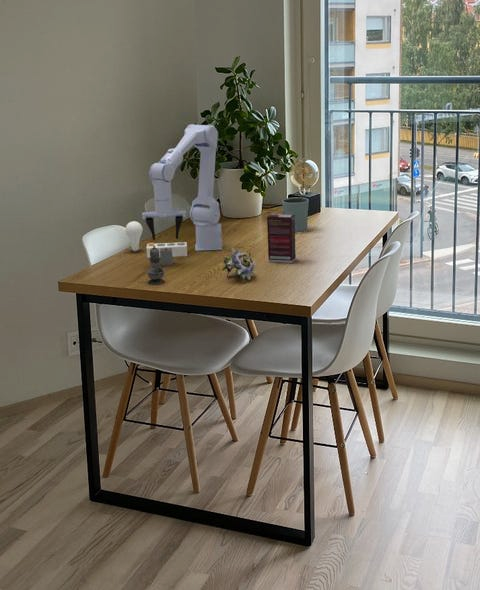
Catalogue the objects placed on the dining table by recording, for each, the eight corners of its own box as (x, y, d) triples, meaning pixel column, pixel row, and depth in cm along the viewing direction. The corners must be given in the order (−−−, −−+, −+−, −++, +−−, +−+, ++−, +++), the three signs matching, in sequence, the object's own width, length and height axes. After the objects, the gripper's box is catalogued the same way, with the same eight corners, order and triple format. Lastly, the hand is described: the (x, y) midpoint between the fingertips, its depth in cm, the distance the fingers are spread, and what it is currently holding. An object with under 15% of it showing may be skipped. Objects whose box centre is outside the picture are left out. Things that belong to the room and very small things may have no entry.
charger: (172, 260, 308) (171, 245, 306) (172, 264, 302) (171, 249, 301) (161, 261, 307) (160, 246, 306) (160, 265, 302) (159, 250, 301)
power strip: (187, 251, 319) (186, 240, 317) (187, 256, 313) (186, 244, 312) (147, 253, 318) (147, 241, 317) (147, 257, 312) (146, 246, 311)
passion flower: (248, 296, 285) (244, 273, 275) (217, 287, 288) (212, 264, 278) (261, 269, 290) (258, 246, 281) (231, 261, 294) (227, 237, 284)
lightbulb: (141, 253, 318) (139, 223, 315) (124, 253, 319) (122, 223, 316) (146, 249, 324) (144, 219, 320) (130, 249, 325) (127, 219, 322)
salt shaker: (147, 279, 286) (144, 243, 283) (165, 278, 287) (163, 242, 283) (146, 285, 281) (144, 248, 277) (165, 284, 281) (163, 247, 278)
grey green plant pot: (313, 229, 346) (313, 198, 342) (301, 234, 338) (300, 203, 334) (290, 226, 351) (290, 196, 348) (277, 232, 343) (277, 201, 340)
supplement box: (296, 259, 304) (295, 214, 299) (292, 263, 300) (291, 217, 295) (271, 258, 307) (270, 213, 302) (267, 262, 302) (266, 216, 298)
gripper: (140, 202, 293) (143, 242, 297) (184, 200, 294) (187, 240, 298) (141, 198, 300) (144, 237, 304) (184, 196, 301) (186, 235, 305)
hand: (165, 238), depth 302 cm, fingers open, 7 cm apart
